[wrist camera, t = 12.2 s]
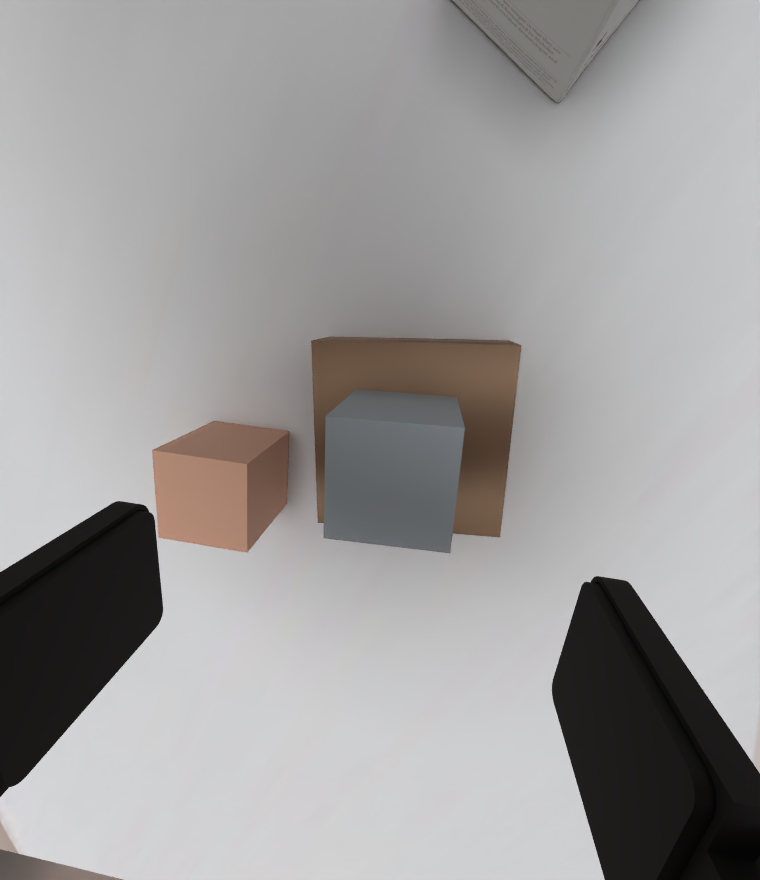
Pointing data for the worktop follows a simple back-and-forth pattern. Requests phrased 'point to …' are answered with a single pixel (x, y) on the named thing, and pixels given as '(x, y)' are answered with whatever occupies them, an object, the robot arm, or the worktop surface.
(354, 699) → the worktop surface
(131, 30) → the worktop surface
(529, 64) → the supplement box
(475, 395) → the walnut base
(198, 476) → the terracotta block
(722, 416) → the worktop surface
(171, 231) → the worktop surface
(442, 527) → the grey block
